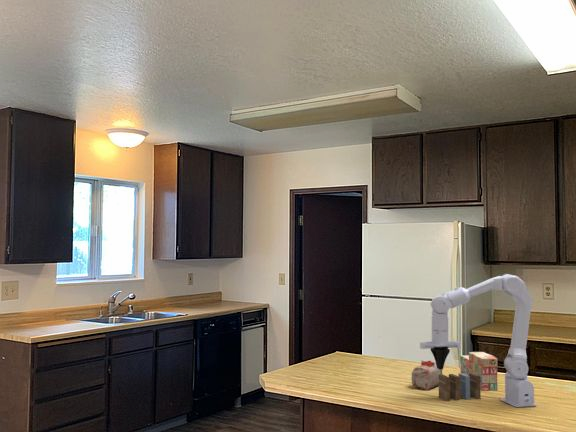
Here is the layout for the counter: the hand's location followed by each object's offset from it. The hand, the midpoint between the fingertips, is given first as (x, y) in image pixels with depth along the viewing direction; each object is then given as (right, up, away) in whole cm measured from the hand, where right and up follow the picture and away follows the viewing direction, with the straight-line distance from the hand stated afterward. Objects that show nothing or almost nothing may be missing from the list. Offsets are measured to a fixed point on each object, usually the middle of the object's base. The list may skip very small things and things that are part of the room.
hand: (440, 368), depth 203 cm
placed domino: (+9, -11, +2) cm, 14 cm away
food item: (0, -12, +17) cm, 21 cm away
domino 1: (+1, -11, 0) cm, 11 cm away
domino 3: (+13, -11, +3) cm, 17 cm away
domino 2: (+5, -11, +1) cm, 12 cm away
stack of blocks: (+21, -12, +22) cm, 33 cm away
